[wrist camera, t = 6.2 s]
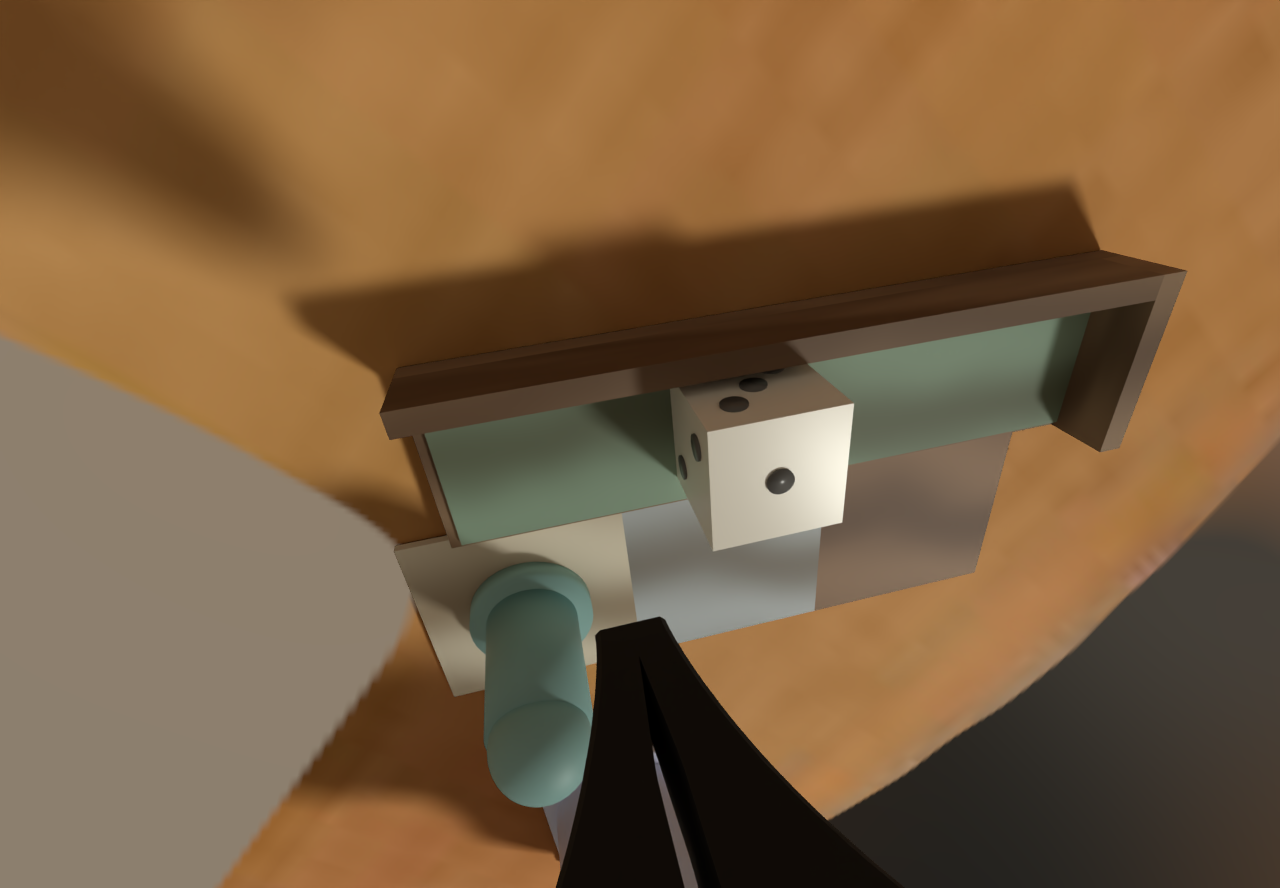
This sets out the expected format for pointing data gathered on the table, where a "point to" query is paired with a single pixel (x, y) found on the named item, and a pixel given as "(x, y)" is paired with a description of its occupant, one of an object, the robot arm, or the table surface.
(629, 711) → the robot arm
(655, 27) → the table surface
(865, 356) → the dice tray
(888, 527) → the track
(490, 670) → the pawn
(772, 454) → the die
